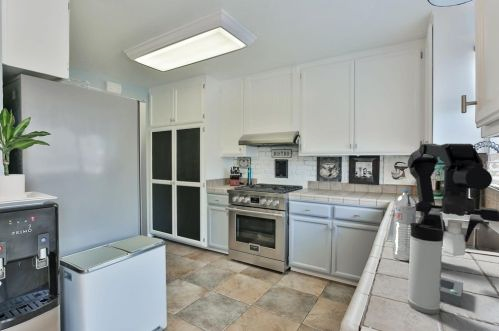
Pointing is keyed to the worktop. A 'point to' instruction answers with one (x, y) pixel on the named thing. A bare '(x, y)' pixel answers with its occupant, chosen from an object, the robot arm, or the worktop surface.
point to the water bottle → (403, 225)
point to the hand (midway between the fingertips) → (454, 239)
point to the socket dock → (451, 291)
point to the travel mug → (425, 268)
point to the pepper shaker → (454, 239)
